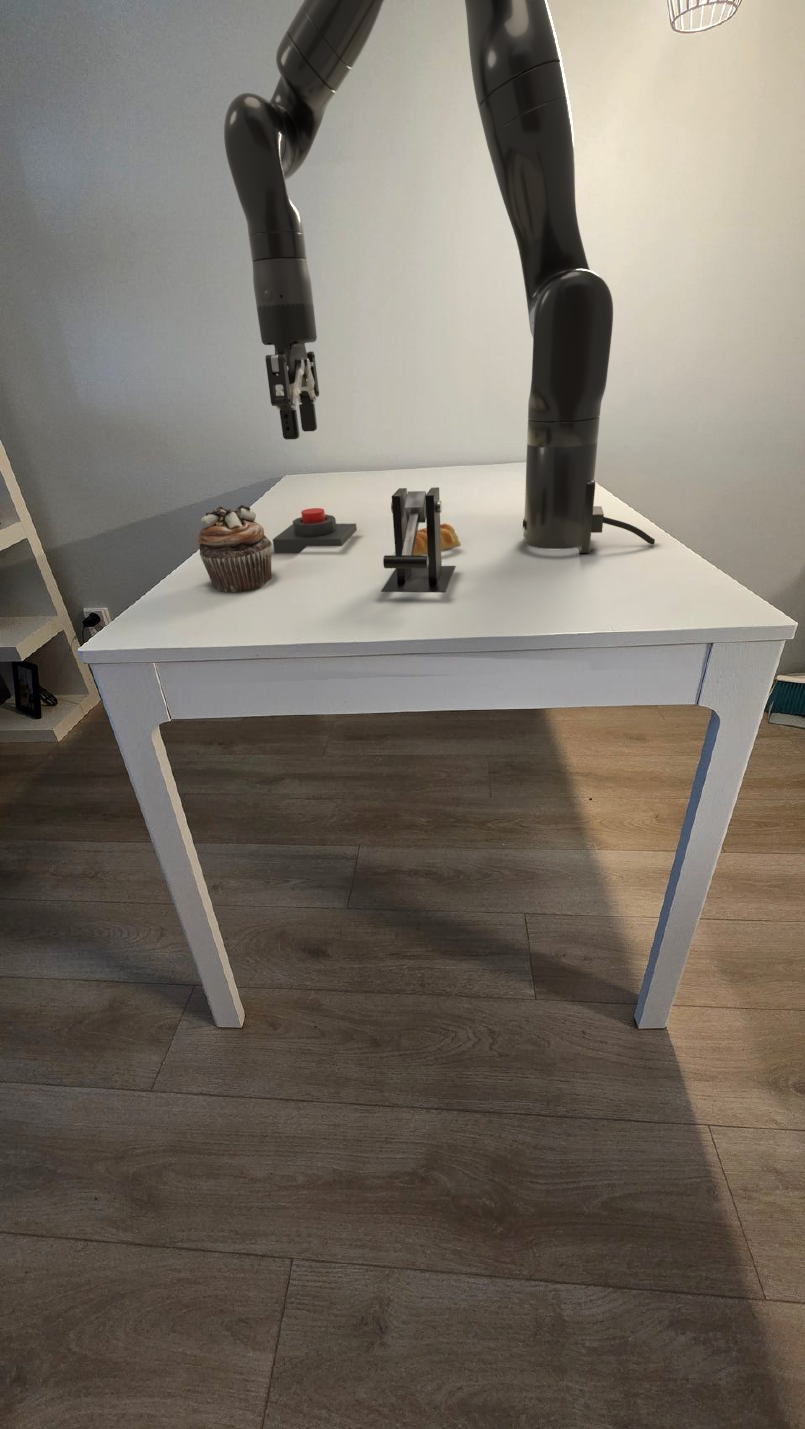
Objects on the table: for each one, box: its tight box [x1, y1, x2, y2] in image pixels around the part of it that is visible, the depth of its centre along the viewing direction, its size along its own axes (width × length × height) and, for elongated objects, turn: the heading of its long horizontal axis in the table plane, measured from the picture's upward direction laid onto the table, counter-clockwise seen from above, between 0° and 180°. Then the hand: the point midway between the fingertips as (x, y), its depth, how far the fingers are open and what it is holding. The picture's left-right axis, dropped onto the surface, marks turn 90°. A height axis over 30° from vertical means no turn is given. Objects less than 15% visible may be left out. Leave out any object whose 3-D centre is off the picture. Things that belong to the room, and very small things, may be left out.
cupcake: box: [197, 504, 273, 593], centre depth 86 cm, size 10×10×10 cm
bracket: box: [380, 486, 457, 593], centre depth 79 cm, size 10×8×12 cm
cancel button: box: [300, 507, 326, 523], centre depth 100 cm, size 4×4×2 cm
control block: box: [272, 514, 358, 554], centre depth 101 cm, size 11×9×4 cm
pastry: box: [413, 523, 461, 555], centre depth 93 cm, size 9×7×4 cm
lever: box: [382, 490, 429, 569], centre depth 75 cm, size 11×5×2 cm, turn 170°
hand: (301, 434), depth 93 cm, fingers open, 8 cm apart
